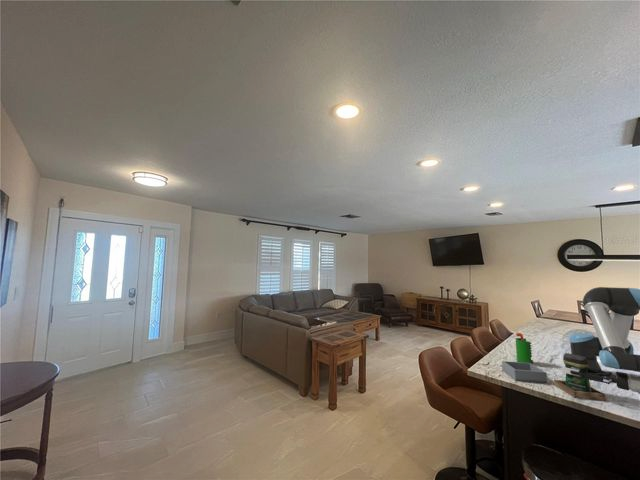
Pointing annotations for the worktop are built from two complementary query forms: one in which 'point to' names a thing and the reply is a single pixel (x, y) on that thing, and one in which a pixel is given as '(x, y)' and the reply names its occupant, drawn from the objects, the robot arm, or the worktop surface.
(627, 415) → the worktop surface
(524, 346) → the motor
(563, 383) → the walnut collar
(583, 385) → the coffee jar
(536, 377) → the charcoal bin
